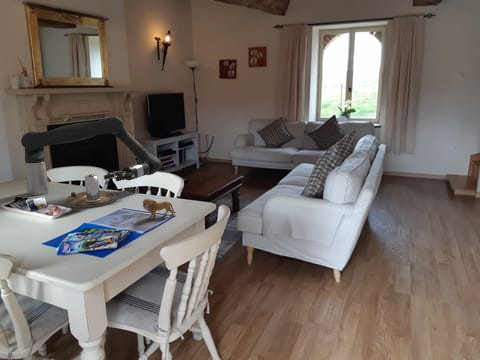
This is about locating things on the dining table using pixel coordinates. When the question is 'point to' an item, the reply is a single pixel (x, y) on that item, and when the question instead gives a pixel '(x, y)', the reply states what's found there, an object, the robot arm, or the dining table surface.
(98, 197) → the canister
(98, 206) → the turntable base
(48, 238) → the dining table surface
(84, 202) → the turntable
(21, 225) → the dining table surface
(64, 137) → the robot arm
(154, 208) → the lion figurine
